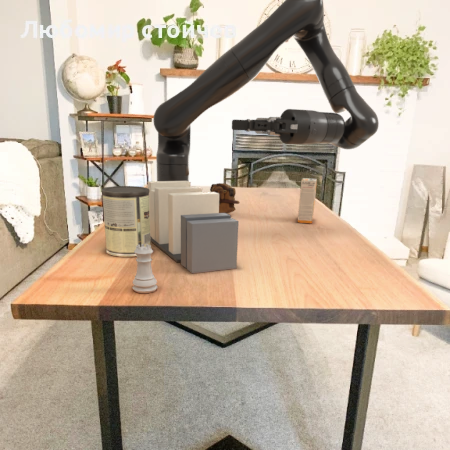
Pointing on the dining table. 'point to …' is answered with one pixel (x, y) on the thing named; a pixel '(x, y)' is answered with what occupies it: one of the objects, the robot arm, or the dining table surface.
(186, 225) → the grey books
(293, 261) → the dining table surface
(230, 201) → the wooden carving
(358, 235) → the dining table surface
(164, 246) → the white books
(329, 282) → the dining table surface
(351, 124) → the robot arm
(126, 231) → the coffee can
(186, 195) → the white book
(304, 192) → the supplement box
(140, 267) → the rook chess piece
